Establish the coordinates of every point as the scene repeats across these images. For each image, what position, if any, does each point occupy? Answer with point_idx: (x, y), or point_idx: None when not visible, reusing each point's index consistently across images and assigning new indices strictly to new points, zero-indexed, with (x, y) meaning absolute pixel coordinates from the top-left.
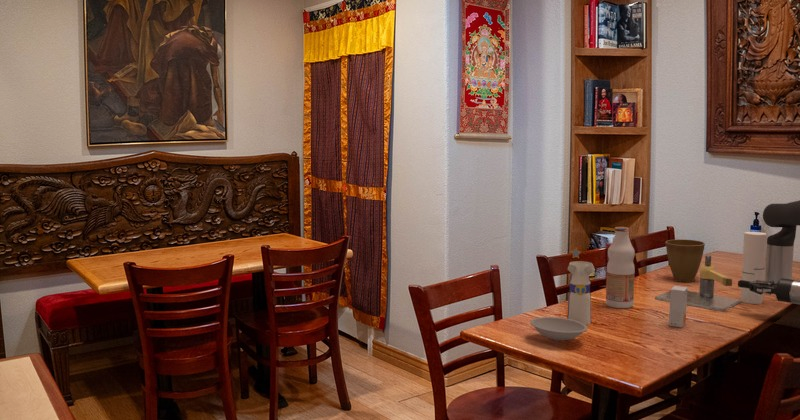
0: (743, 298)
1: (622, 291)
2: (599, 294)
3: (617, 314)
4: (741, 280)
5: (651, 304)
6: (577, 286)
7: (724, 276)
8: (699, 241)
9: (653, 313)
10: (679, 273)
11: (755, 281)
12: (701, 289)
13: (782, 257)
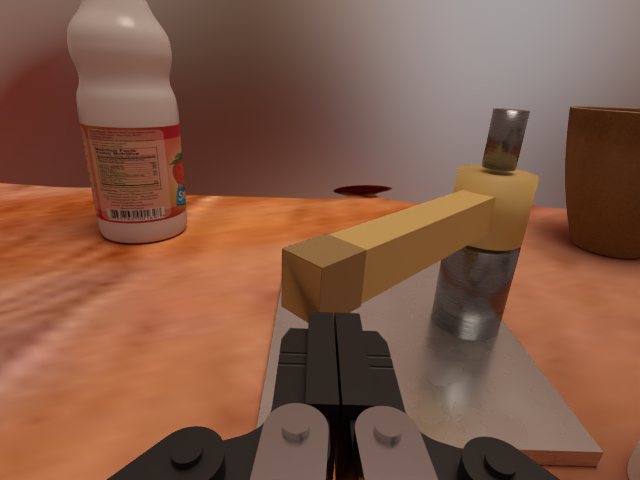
0: (637, 457)
1: (91, 182)
2: (246, 200)
3: (13, 243)
4: (335, 322)
5: (207, 260)
6: None
7: (374, 234)
8: None
9: (60, 285)
10: (575, 217)
11: (414, 454)
12: (437, 281)
13: None
